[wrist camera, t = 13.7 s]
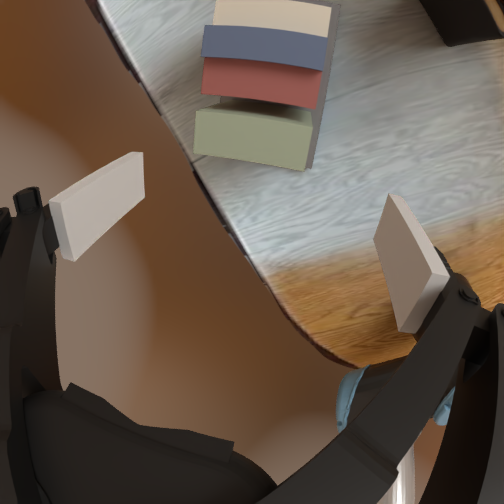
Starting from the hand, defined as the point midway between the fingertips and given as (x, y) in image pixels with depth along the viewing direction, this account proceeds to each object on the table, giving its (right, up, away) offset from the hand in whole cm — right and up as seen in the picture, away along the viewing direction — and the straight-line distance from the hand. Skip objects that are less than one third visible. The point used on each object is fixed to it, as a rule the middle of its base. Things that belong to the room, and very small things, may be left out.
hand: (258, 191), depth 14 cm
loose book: (+2, +14, +19) cm, 24 cm away
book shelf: (+3, +19, +17) cm, 26 cm away
